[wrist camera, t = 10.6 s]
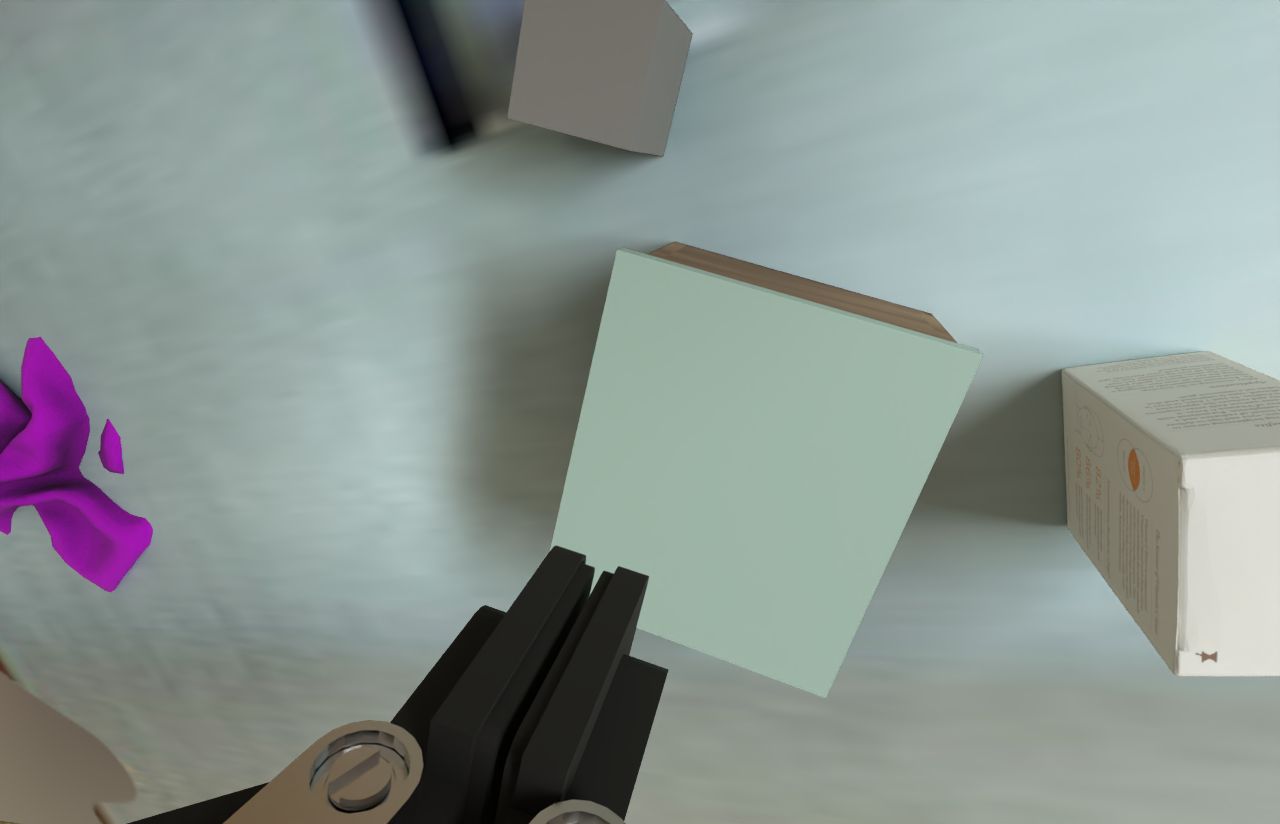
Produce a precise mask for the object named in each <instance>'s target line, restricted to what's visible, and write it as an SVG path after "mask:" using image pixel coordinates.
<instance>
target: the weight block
mask: <svg viewBox="0 0 1280 824" xmlns="http://www.w3.org/2000/svg"><path fill="white" fill-rule="evenodd" d="M692 34H693V33H692V32H691V31H690V30H689V28H688V27H687V26H686V25H685V24H684V22H683V21H682V20H681V19H680V18H679V16H678V15H677V14H676V13H675V11H674V10H673V9H672V8H671V7H670V5H669V4H668V3H667V2H666V1H665V0H525V3H524V9H523V16H522V23H521V29H520V36H519V43H518V50H517V56H516V63H515V70H514V76H513V83H512V90H511V96H510V103H509V110H508V117H507V118H508V119H512V120H516V121H519V122H523V123H527V124H531V125H535V126H538V127H542V128H546V129H550V130H553V131H557V132H561V133H565V134H568V135H572V136H576V137H580V138H584V139H587V140H591V141H595V142H599V143H602V144H606V145H610V146H614V147H617V148H621V149H625V150H629V151H634V152H640V153H647V154H653V155H660V156H664V152H665V148H666V144H667V139H668V135H669V131H670V127H671V123H672V118H673V114H674V110H675V106H676V102H677V97H678V93H679V89H680V85H681V81H682V76H683V72H684V68H685V64H686V59H687V55H688V51H689V47H690V43H691V38H692Z"/></svg>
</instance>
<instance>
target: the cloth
mask: <svg viewBox="0 0 1280 824" xmlns="http://www.w3.org/2000/svg"><path fill="white" fill-rule="evenodd" d="M21 381H22V400H23V402H24V403H25V404H24V403H23V402H22V401H21V400H20V399H19V398H18V397H17V396H16V395H15V394H14V393H13V392H11V391H10V390H9V389H8V388H7V387H6V386H5V385H4V384H3V383H2V382H1V381H0V531H1V532H4V533H5V534H7V535H8V534H9V533H10V532H11V518H12V516H13V513H14V512H15V510H16V509H17V508H18V507H20V506H26V505H34V506H35V508H36V510H37V511H38V513H39V515H40V517H41V518H42V520H43V522H44V524H45V526H46V528H47V530H48V532H49V534H50V535H51V540H52V546H53V548H54V549H55V550H56V551H57V553H58V554H59V555H60V556H61V558H62V559H63V560H64V561H65V562H66V563H67V564H68V565H69V566H70V567H72V568H73V569H74V570H75V571H77V572H78V573H79V574H80V575H81V576H83V577H84V578H86V579H88V580H89V581H91V582H93V583H94V584H96V585H97V586H99V587H101V588H102V589H104V590H105V591H108V592H112V591H113V590H115V589H116V587H117V586H118V584H119V583H120V581H121V580H122V578H123V577H124V576H125V575H126V573H127V572H128V571H129V570H130V568H131V567H132V566H133V564H134V563H135V561H136V560H137V559H138V557H139V556H140V555H141V554H142V553H143V551H144V550H145V549H146V548H147V547H148V546H149V545H150V542H151V538H152V534H153V529H152V526H151V524H150V523H149V522H148V521H147V520H146V519H145V518H142V517H138V516H134V515H131V514H129V513H128V512H126V511H125V510H123V509H122V508H120V507H119V506H118V505H117V504H116V503H115V502H113V501H112V500H111V499H110V498H109V497H108V496H107V495H106V494H105V493H103V492H102V490H101V489H100V488H98V487H97V486H96V485H94V484H93V483H92V482H90V481H89V480H87V479H85V478H84V477H83V475H82V474H81V472H80V470H79V465H80V462H81V459H82V458H83V456H84V454H85V450H86V445H87V441H88V437H89V432H90V425H89V417H88V415H87V413H86V409H85V407H84V405H83V403H82V401H81V400H80V398H79V396H78V395H77V393H76V391H75V389H74V386H73V382H72V379H71V377H70V375H69V374H68V373H67V371H66V370H65V369H64V367H63V366H62V364H61V363H60V362H59V360H58V359H57V358H56V356H55V355H54V353H53V352H52V351H51V350H50V348H49V347H48V346H47V345H46V344H45V342H44V341H43V340H42V338H41V337H38V338H29V340H28V342H27V345H26V348H25V353H24V358H23V363H22V367H21ZM120 439H121V438H120V436H119V435H118V433H117V432H116V430H115V428H114V427H113V425H112V424H111V422H110V420H109V419H107V422H106V425H105V427H104V430H103V432H102V434H101V447H100V451H99V452H98V453H99V456H100V459H101V462H102V464H103V467H104V468H106V469H107V470H108V471H110V472H113V473H121V474H124V469H123V461H122V448H121V442H120Z"/></svg>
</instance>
